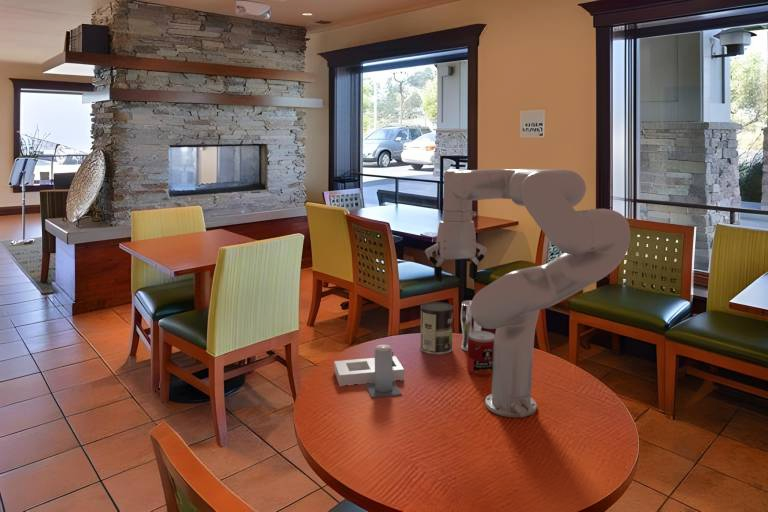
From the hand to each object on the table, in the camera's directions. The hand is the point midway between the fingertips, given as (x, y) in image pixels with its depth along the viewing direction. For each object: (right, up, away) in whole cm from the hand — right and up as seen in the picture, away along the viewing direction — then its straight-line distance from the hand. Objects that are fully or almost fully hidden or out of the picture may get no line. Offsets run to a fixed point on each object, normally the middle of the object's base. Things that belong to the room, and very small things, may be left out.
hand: (455, 279), depth 153 cm
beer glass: (+8, -23, +28) cm, 37 cm away
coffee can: (-3, -24, +27) cm, 36 cm away
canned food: (+8, -27, +10) cm, 30 cm away
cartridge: (-20, -29, -3) cm, 35 cm away
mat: (-20, -29, -3) cm, 35 cm away
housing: (-24, -28, +7) cm, 37 cm away
